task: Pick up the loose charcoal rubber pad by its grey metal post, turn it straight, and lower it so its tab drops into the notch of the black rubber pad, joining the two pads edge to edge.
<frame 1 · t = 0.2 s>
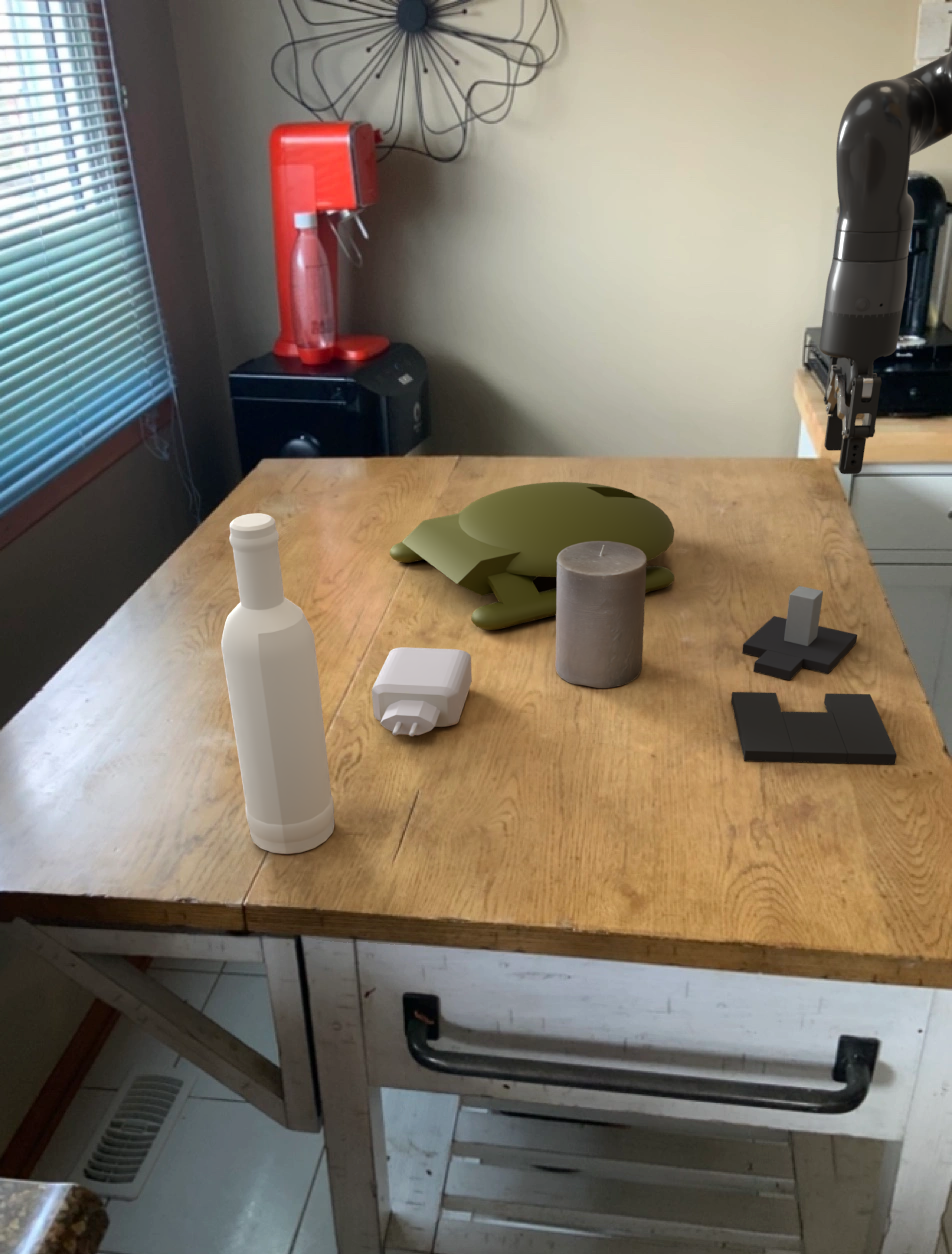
hand: (841, 460, 123), 21 cm above the table, tool pointing down, fingers open, 8 cm apart
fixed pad: (808, 731, 114), on the table
loose pad: (799, 648, 130), on the table
charger: (418, 720, 121), on the table
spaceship: (544, 569, 155), on the table
bottle: (292, 831, 104), on the table
pillar candle: (597, 671, 128), on the table
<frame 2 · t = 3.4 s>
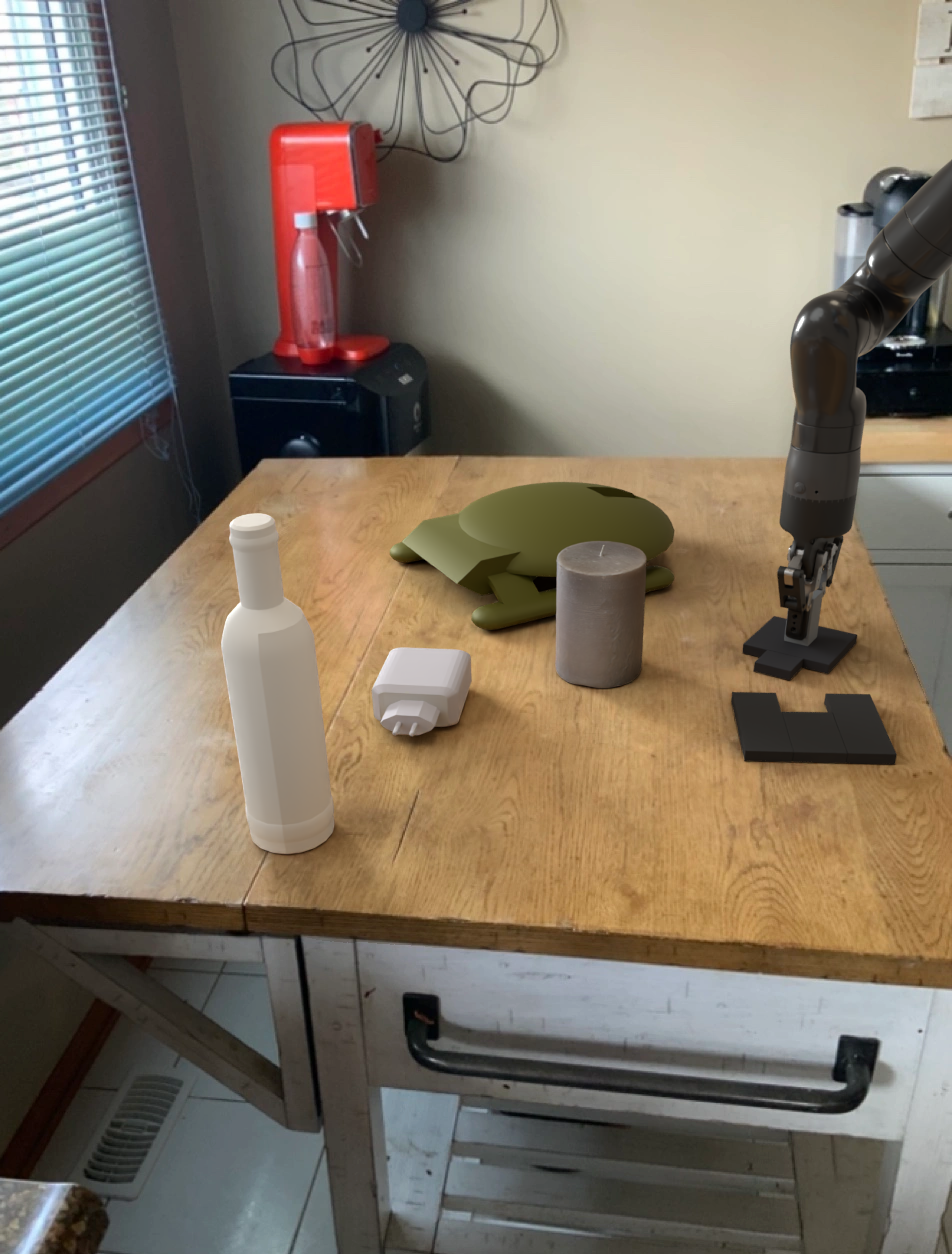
hand: (801, 631, 129), 2 cm above the table, tool pointing down, fingers closed on loose pad, 3 cm apart
loose pad: (799, 648, 130), on the table, touching gripper
everything else where it was.
when the fingers open (2 cm above the table, at t = 8.7 s): loose pad stays where it is, on the table.
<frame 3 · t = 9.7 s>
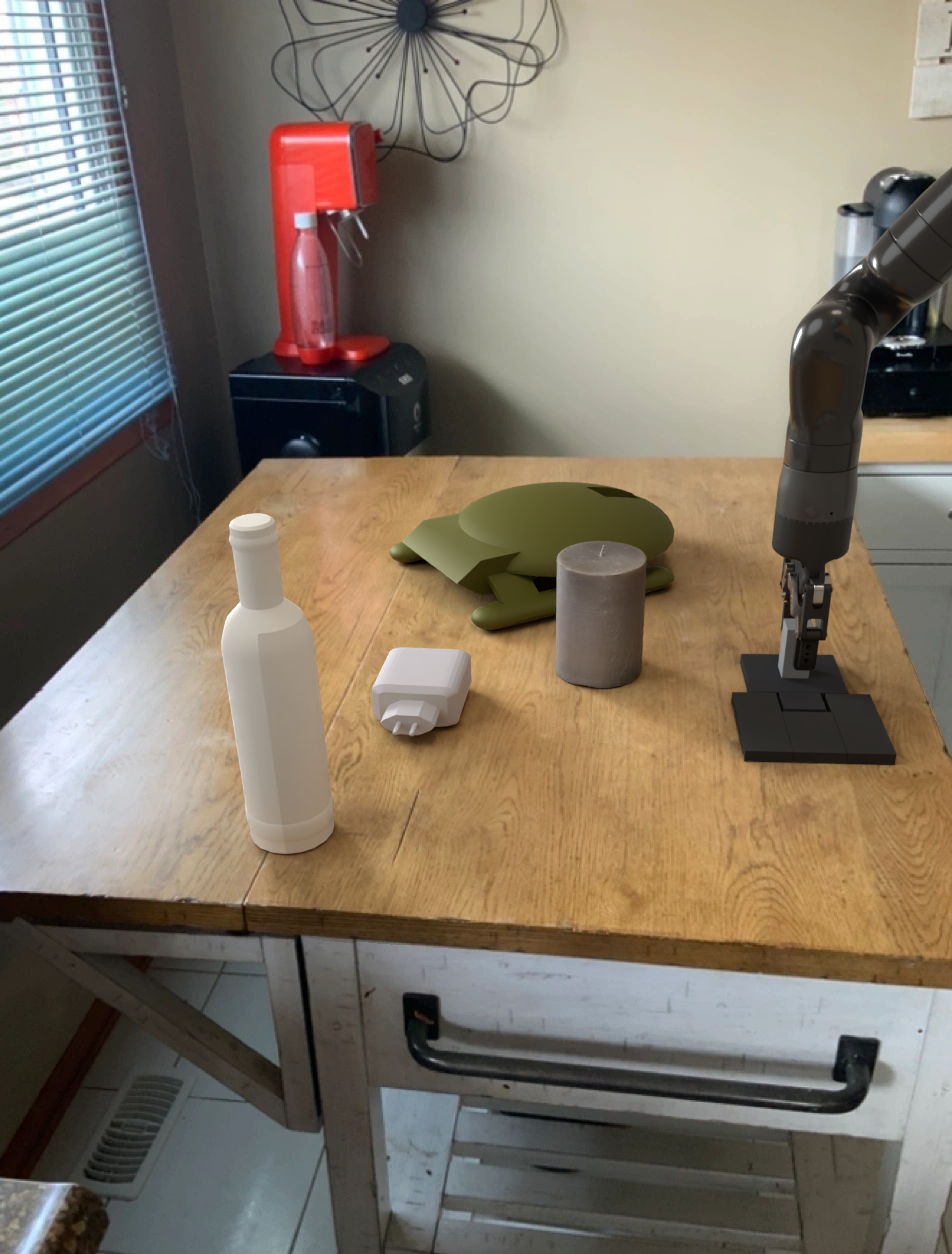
hand: (796, 650, 121), 4 cm above the table, tool pointing down, fingers open, 8 cm apart
loose pad: (791, 682, 123), on the table
everything else where it was.
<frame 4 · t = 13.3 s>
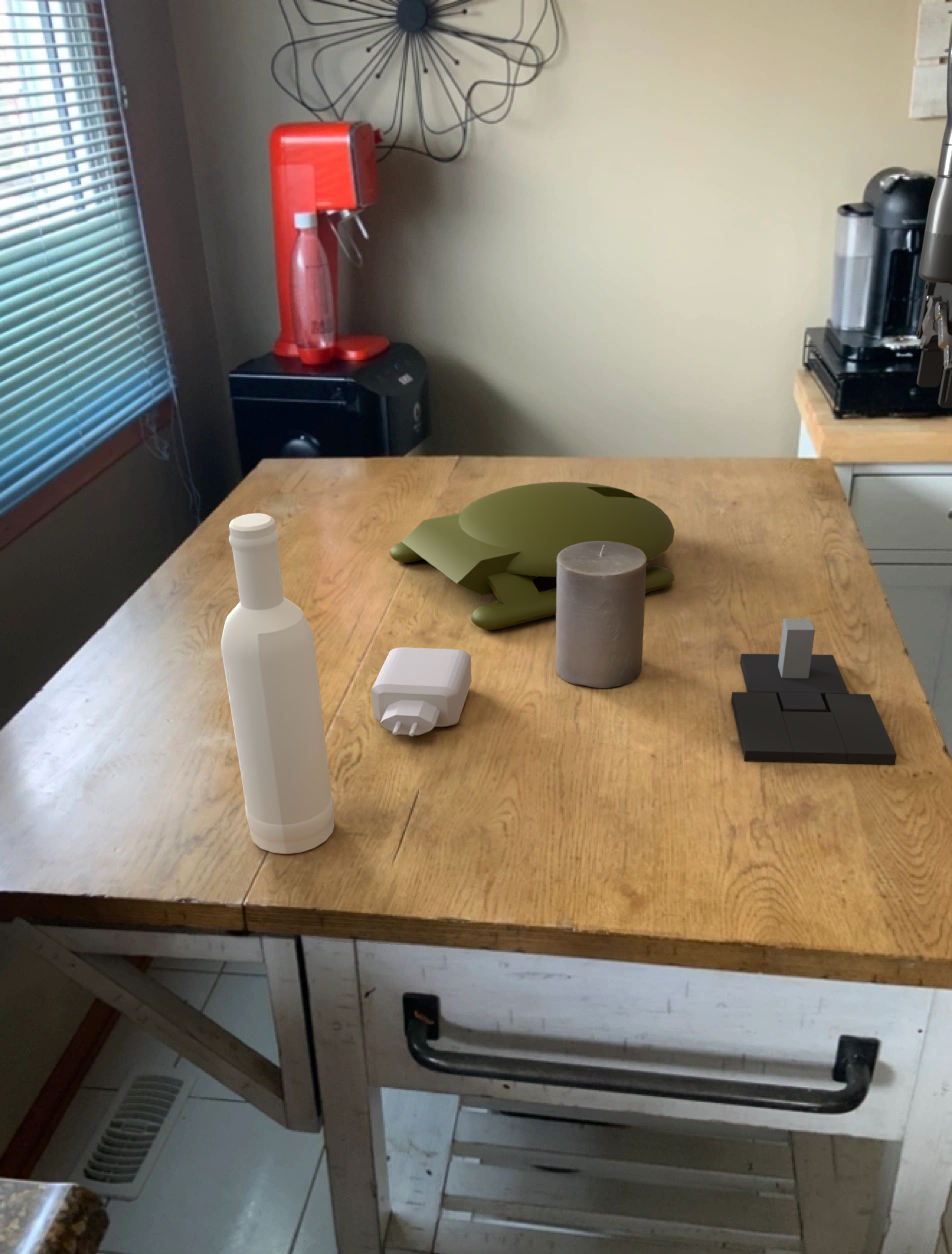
hand: (938, 396, 116), 28 cm above the table, tool pointing down, fingers open, 8 cm apart
nothing on the table moved.
at the end: loose pad 0.1 cm from the target spot on the table beside the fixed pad, on the table; loose pad tilted 0°; the gripper is holding nothing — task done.
